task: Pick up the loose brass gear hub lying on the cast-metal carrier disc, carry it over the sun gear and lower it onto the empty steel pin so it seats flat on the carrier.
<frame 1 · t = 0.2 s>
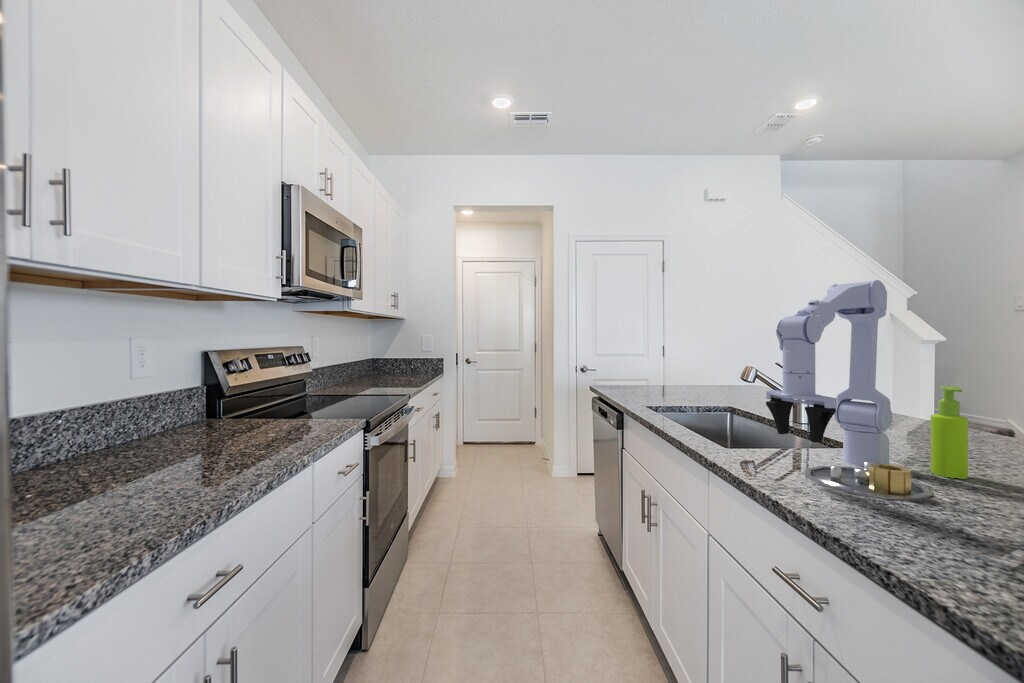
hand: (799, 437, 90), 10 cm above the countertop, tool pointing down, fingers open, 7 cm apart
gear: (889, 490, 83), point 1 cm above the countertop, touching carrier
pin: (836, 486, 89), resting on carrier
soap dispenser: (949, 476, 96), on the countertop
carrier: (863, 486, 89), on the countertop
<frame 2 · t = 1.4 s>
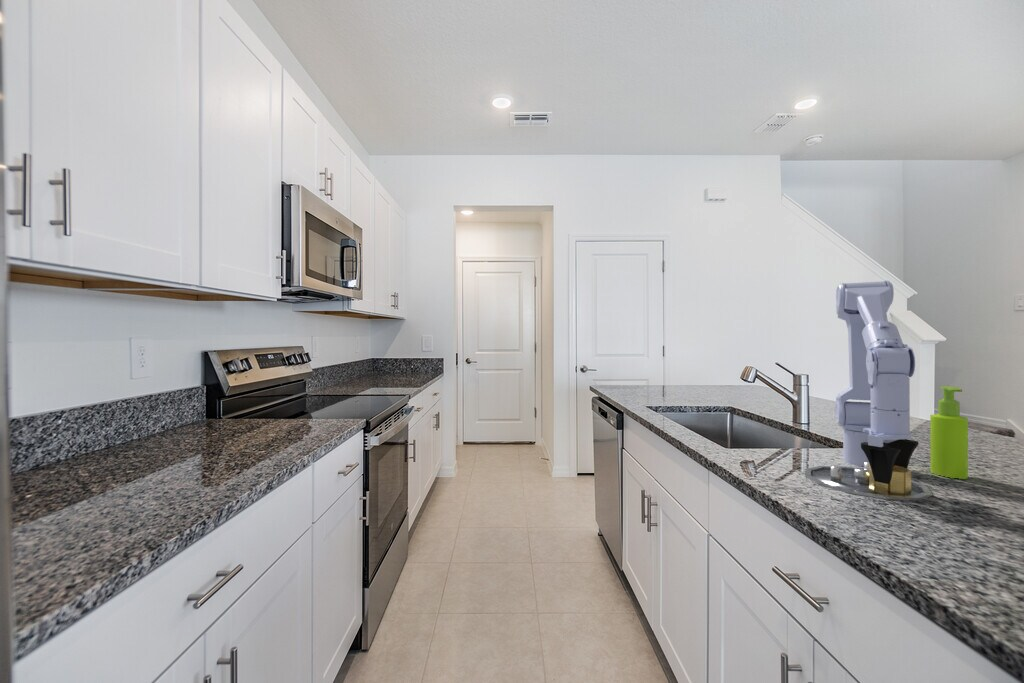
hand: (889, 479, 83), 3 cm above the countertop, tool pointing down, fingers open, 7 cm apart
nothing on the countertop moved.
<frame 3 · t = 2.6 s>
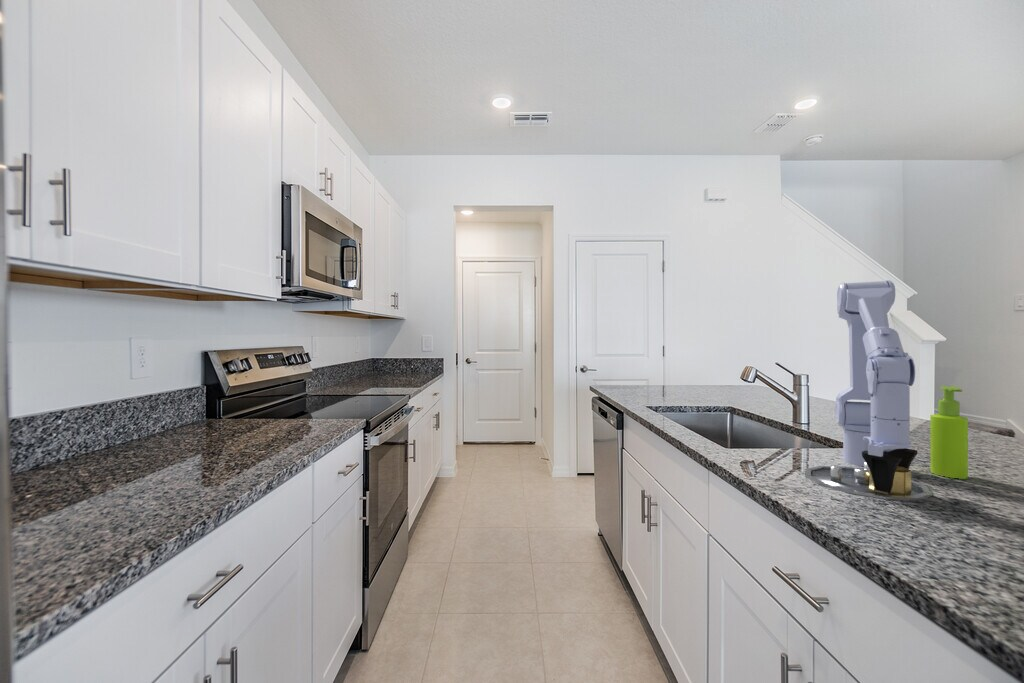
hand: (889, 487, 83), 2 cm above the countertop, tool pointing down, fingers closed on gear, 6 cm apart
gear: (889, 490, 83), point 1 cm above the countertop, touching carrier, gripper
everything else where it was.
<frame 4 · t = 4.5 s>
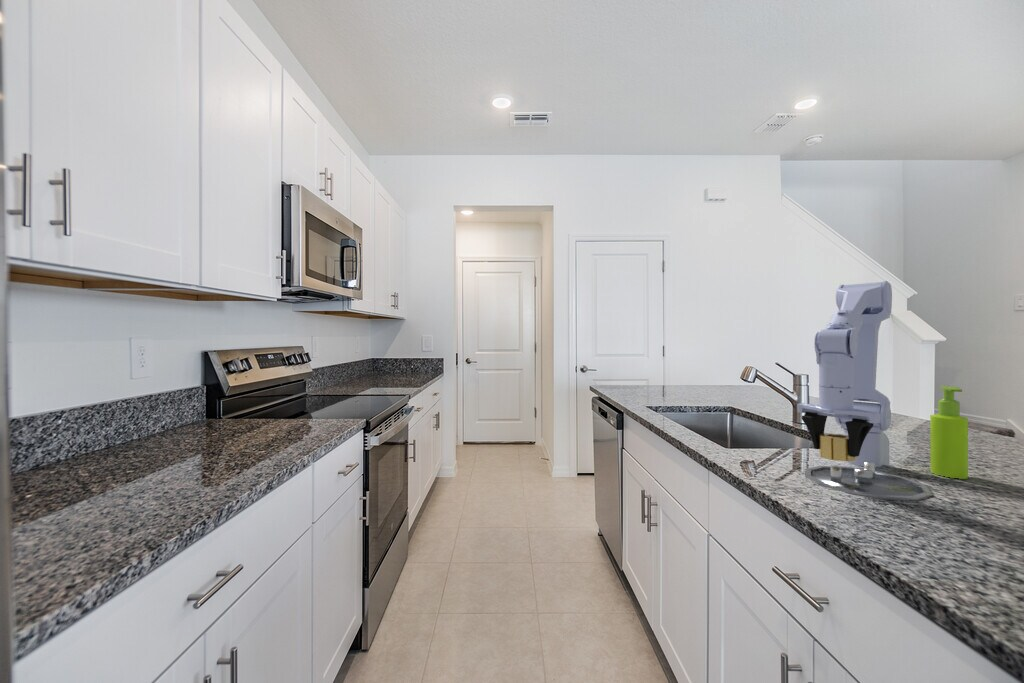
hand: (835, 452, 89), 7 cm above the countertop, tool pointing down, fingers closed on gear, 6 cm apart
gear: (837, 457, 89), point 6 cm above the countertop, touching gripper
everything else where it was.
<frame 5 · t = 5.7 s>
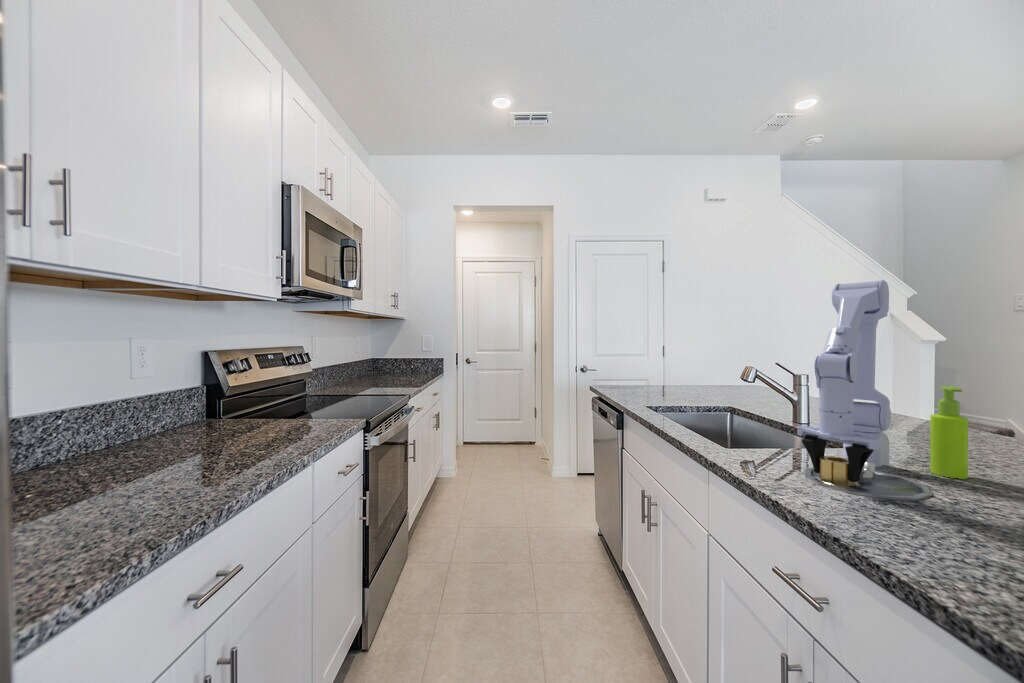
hand: (836, 476, 89), 2 cm above the countertop, tool pointing down, fingers closed on gear, 6 cm apart
gear: (836, 481, 89), point 1 cm above the countertop, touching carrier, gripper
everything else where it was.
when the fingers open (2 cm above the countertop, at t = 6.5 s): gear stays where it is, resting on carrier.
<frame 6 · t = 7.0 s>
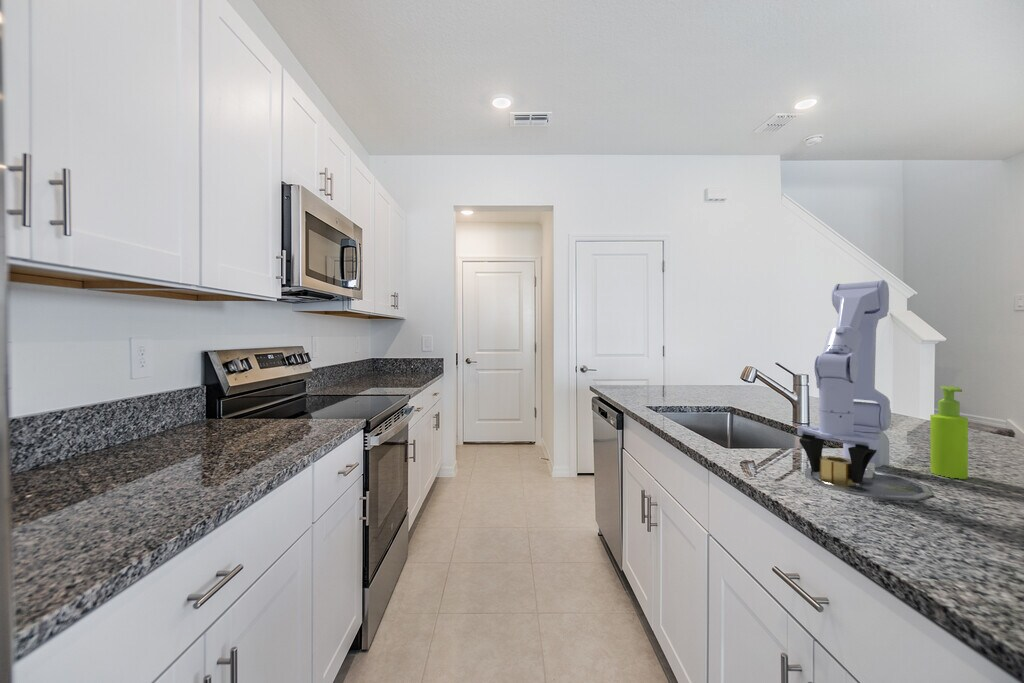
hand: (836, 476, 89), 2 cm above the countertop, tool pointing down, fingers open, 7 cm apart
gear: (837, 481, 89), point 1 cm above the countertop, touching carrier
everything else where it was.
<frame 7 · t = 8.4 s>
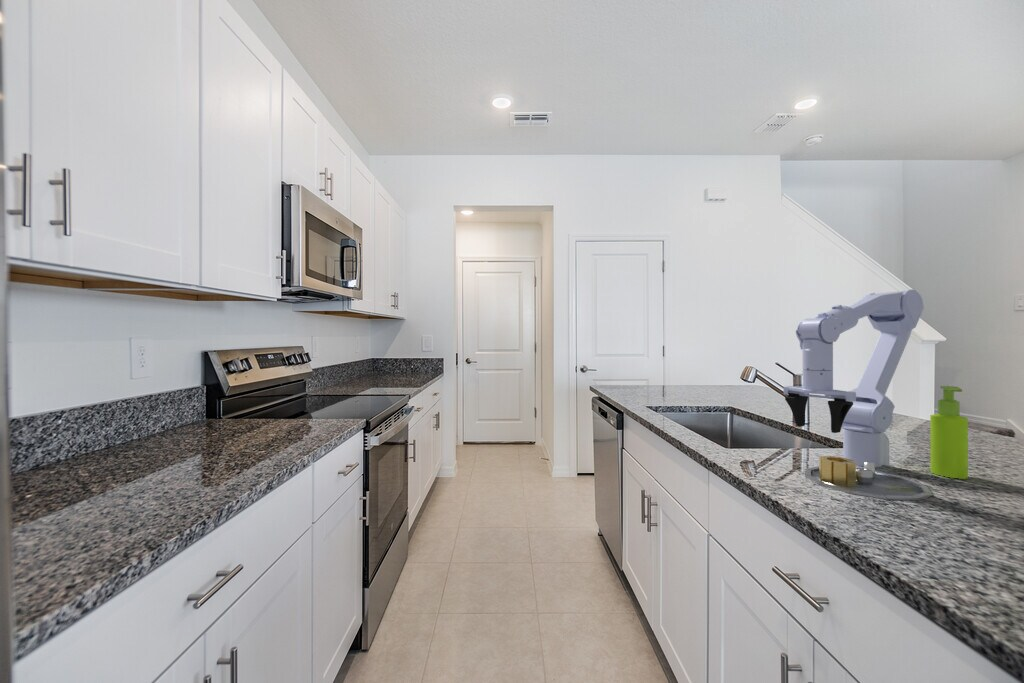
hand: (817, 429, 99), 10 cm above the countertop, tool pointing down, fingers open, 7 cm apart
nothing on the countertop moved.
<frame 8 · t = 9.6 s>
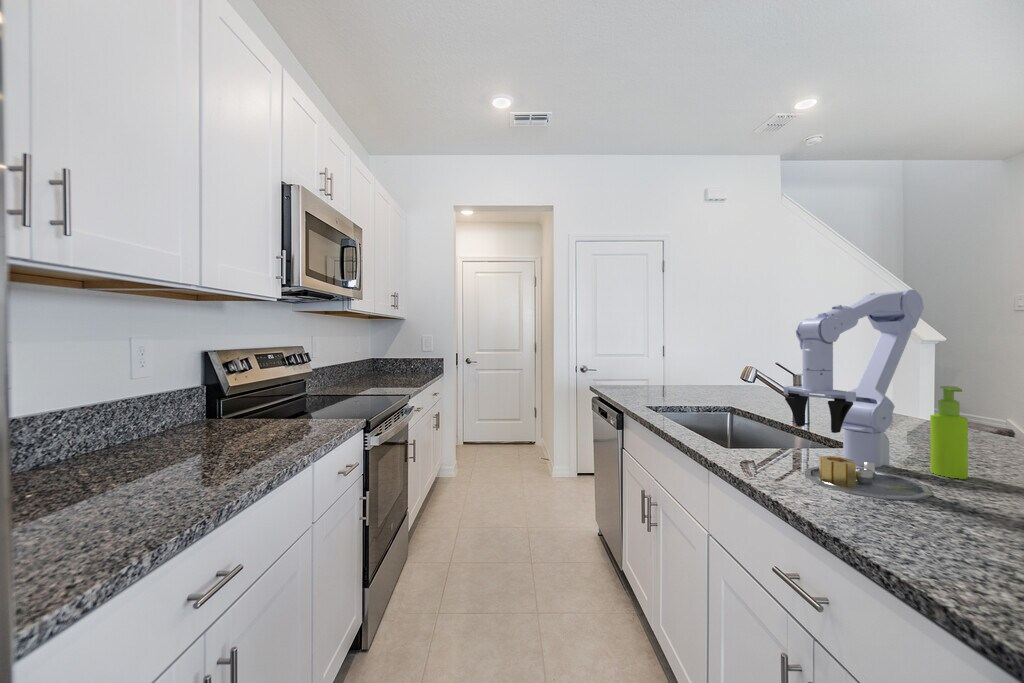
hand: (817, 429, 99), 10 cm above the countertop, tool pointing down, fingers open, 7 cm apart
nothing on the countertop moved.
at the end: gear 0.3 cm from the pin (horizontally); gear point 1.0 cm above the countertop; gear tilted 0° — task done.
